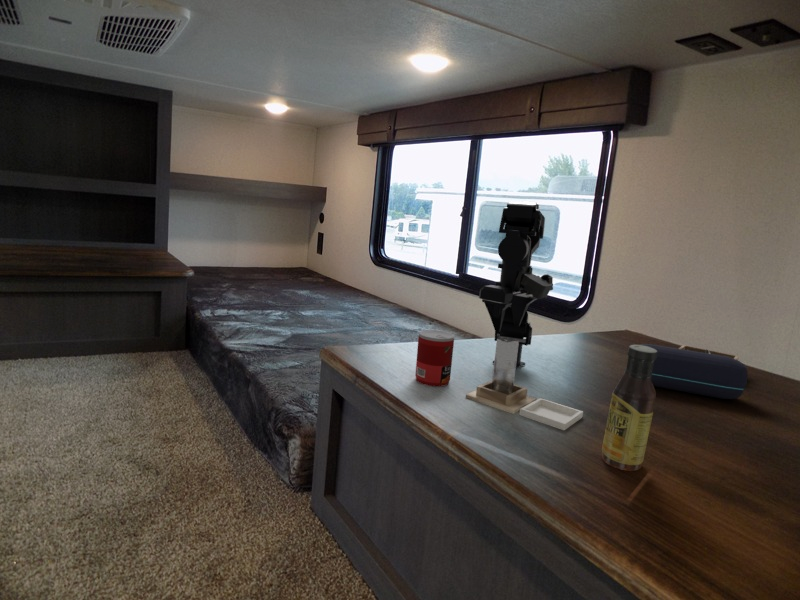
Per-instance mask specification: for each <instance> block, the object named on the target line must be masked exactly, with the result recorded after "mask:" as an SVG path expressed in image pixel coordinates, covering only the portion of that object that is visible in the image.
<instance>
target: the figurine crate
mask: <svg viewBox="0 0 800 600" xmlns="http://www.w3.org/2000/svg"><path fill="white" fill-rule="evenodd" d="M677 349H683V350H687V349H688V350H689V351H697V352H702V353H705V351H706V348H701V347H700V348H699V347H695V346H690V345H686V344H682V345H681V346H680V347H678V348H677ZM707 350H708V351H709V352H710V353H711V354H715V355H721V356H727V357H730V358H733V359H735V360H738V361H739V357H740V356H738V355H734V354H730V353H724V352H721V351H720V352H719V351H716V350H710V349H707Z"/></svg>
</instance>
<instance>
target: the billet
mask: <svg viewBox="0 0 800 600" xmlns="http://www.w3.org/2000/svg"><path fill="white" fill-rule="evenodd" d="M518 345H519V341H517V340H515V339H510V338H498V339H497V341H496V345H495V352H494V354H495V355H494V360H493V361H494V363H493V370H492V371H493V372H492V378H491V379H492V387H491V390H495V391H498V392H501V393H504V394H507V395H509V394H511V393H513V385H515V377H516V376H515V375H516V369H517V368H516V361H517V353H518Z"/></svg>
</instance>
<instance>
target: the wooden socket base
mask: <svg viewBox="0 0 800 600" xmlns="http://www.w3.org/2000/svg"><path fill="white" fill-rule="evenodd" d="M491 387H492V380H489V381H487V382H484V383H482V384H479V385H477V386H476V389H475V390H473V391H471V392H469V393H465V398H467V399H469V400H471V401H472V400H473V401H475V402H477V403H480V404H483V405H486V406H489V407H491V408H494V409H497V410H500V411H504V412H507V413H510V414H512V415H515V414H516V413H519V412H520V409H521V408H523V407H525V406H526V405H528V404H530V403H532V402H534V401H536V400H537V398H535V397H532V396H529V395H528V388H527V387H523V386H520V385H517V384H514V385H513V393H511V394H509V395H507V394H504V393H501V392H498V391H495V390H491Z"/></svg>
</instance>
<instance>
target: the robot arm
mask: <svg viewBox="0 0 800 600" xmlns="http://www.w3.org/2000/svg"><path fill="white" fill-rule="evenodd" d="M539 206H540V203H538V202H535V201H526V200H525V201H524V200H523V201H519V202H511V201H508V202H507V204H506V206H504V207H503V209H502V214H501V218H500V224H499V228H498V233H499V234H505V236H504V238H503V239H501V241H500V242H499V244H498V248H497V250H498V251H497V252H498V255H499V256H498V257H500V259H501V261H502V262H500V263H497V264H498V265H497V269H501V270H500V279H499V281H496V282H495V285H493V284H489V285H483V286H482V287H481V288H480V289H479V295H478V298H479V299H480V300H481V301H482V303H483V304H484V305H485V307H486V310H487V312H488V315H489V317H490V320H491V323H492V326H493V329H494V341H495V342H497V339H498V338H510V339H515V340H517V341H519V345H518V353H517V361H516V369H518V368H521V367H523V366H526V362H523V361H522V354H523V353H522V351H523V346H526V347H527V346H528V345H531V343H532V337H533V336H532V335H533V327H532V325H531V322H530V321H529V312H528V308H529V306H530V304H532V303H533V302H535V301H537V300H541V299H543V298H544V299H545V298H547V297H548V295H549V293H550V291H553V290H554V283H553V281H554V279H553V278H554V277H553V276H551V275H550V274H548V273H547V274H543V275H542V276H540V275H536V274H535V273H533V267H532V265H531V263H532V257H533V254H534V253H535V252H536V251H537V250H538V248H539V247H540V245H541V244H540V242H541V239H542V240H543V239H544V234H545V233H544V232H545V223H546V222H545V221H546V217H545V216H544V214H543V213H542V212H541V211H540V207H539ZM492 363H493V364H494V360H492Z"/></svg>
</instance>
